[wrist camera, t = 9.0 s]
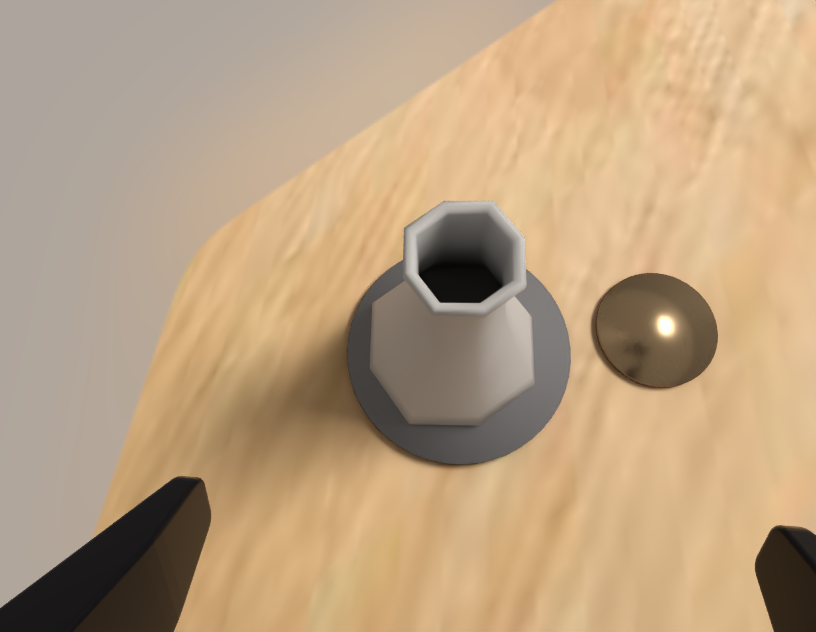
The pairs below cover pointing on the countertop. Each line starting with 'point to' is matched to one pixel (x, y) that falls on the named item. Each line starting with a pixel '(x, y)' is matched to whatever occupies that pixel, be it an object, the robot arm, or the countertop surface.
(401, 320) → the flask
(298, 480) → the countertop surface
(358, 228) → the countertop surface
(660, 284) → the bronze token
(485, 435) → the rubber mat
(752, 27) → the countertop surface
